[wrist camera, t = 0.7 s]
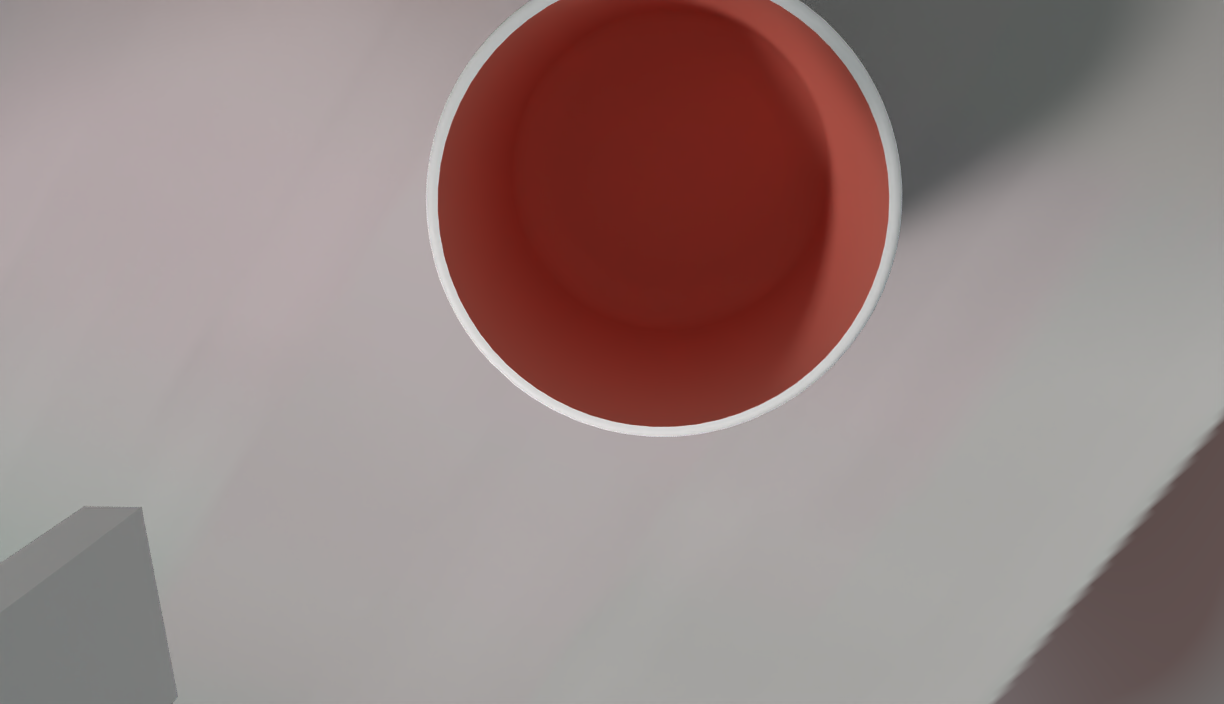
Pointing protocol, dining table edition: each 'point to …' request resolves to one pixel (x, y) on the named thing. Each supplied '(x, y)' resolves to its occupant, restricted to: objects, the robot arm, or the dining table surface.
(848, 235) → the cup
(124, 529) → the robot arm
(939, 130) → the dining table surface
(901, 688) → the dining table surface
